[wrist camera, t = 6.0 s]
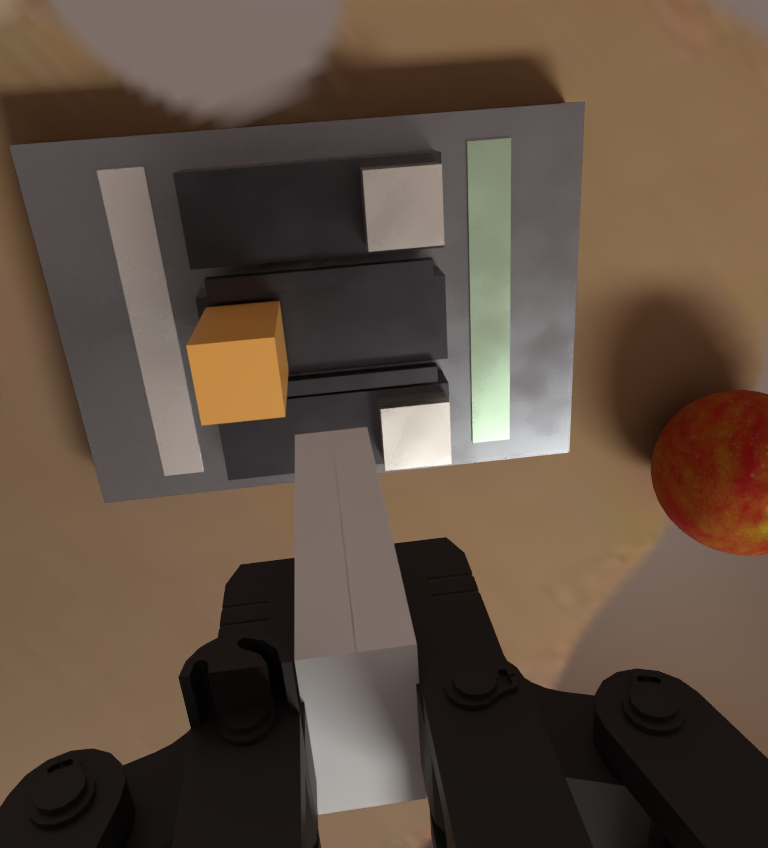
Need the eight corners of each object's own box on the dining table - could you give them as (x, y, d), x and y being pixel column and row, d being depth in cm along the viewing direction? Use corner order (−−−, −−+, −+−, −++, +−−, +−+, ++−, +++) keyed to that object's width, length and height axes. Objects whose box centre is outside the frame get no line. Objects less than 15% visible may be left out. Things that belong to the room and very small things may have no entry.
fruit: (792, 440, 34) (923, 529, 27) (671, 525, 36) (765, 631, 28) (725, 337, 32) (850, 405, 24) (598, 433, 33) (680, 524, 26)
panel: (116, 480, 31) (86, 538, 27) (30, 142, 26) (-25, 148, 21) (554, 433, 33) (591, 481, 28) (565, 102, 27) (615, 100, 23)
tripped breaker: (218, 376, 26) (201, 425, 22) (205, 307, 25) (185, 345, 21) (288, 369, 26) (285, 416, 22) (279, 300, 25) (274, 337, 21)
